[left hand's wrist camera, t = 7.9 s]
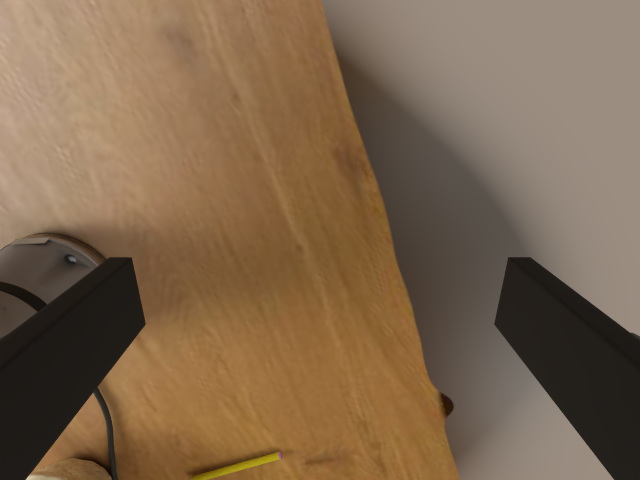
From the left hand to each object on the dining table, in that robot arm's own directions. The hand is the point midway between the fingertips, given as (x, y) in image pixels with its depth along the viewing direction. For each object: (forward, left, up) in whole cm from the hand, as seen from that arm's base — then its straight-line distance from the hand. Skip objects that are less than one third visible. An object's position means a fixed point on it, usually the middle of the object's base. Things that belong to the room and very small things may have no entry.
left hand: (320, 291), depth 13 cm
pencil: (-45, +21, -29) cm, 57 cm away
